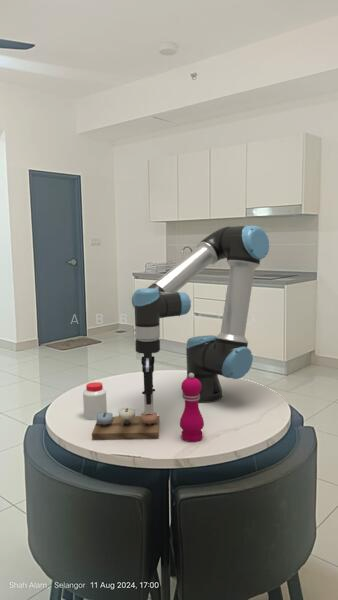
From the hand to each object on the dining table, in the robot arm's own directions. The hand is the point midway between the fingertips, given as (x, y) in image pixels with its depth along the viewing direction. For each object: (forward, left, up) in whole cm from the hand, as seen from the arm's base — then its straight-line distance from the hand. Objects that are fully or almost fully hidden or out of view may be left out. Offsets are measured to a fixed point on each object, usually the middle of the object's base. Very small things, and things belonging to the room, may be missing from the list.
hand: (149, 412), depth 152 cm
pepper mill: (-13, +6, -6) cm, 16 cm away
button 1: (0, 0, -5) cm, 5 cm away
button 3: (+14, 0, -5) cm, 15 cm away
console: (+7, 0, -6) cm, 9 cm away
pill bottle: (+19, -14, -6) cm, 24 cm away
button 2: (+7, 0, -3) cm, 8 cm away
